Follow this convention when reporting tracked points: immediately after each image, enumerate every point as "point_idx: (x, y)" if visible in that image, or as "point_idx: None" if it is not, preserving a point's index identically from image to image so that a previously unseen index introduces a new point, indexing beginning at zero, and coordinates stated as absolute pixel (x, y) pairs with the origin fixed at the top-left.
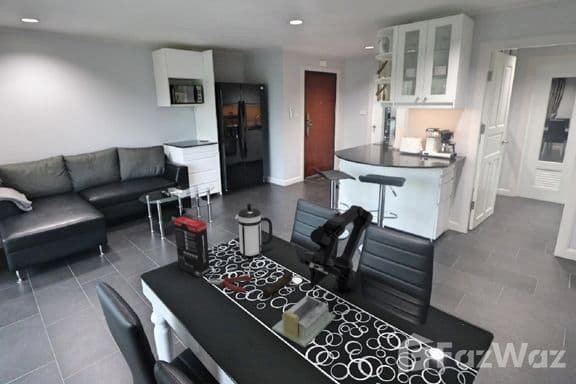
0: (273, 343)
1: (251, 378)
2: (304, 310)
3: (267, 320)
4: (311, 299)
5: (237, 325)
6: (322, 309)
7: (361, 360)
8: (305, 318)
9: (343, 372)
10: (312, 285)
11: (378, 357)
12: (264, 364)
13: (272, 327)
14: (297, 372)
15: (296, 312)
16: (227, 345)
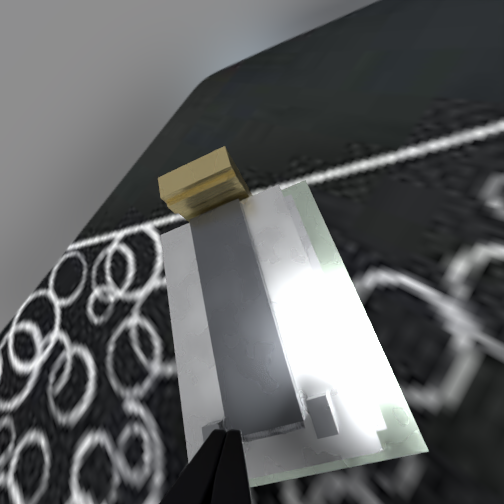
0: (244, 168)
1: (188, 99)
2: (221, 288)
3: (369, 187)
4: (285, 415)
5: (398, 86)
6: (182, 405)
7: (37, 356)
8: (189, 267)
9: (58, 281)
10: (198, 454)
11: (4, 414)
12: (199, 129)
13: (305, 181)
14: (133, 186)
15: (235, 241)
16: (315, 59)
